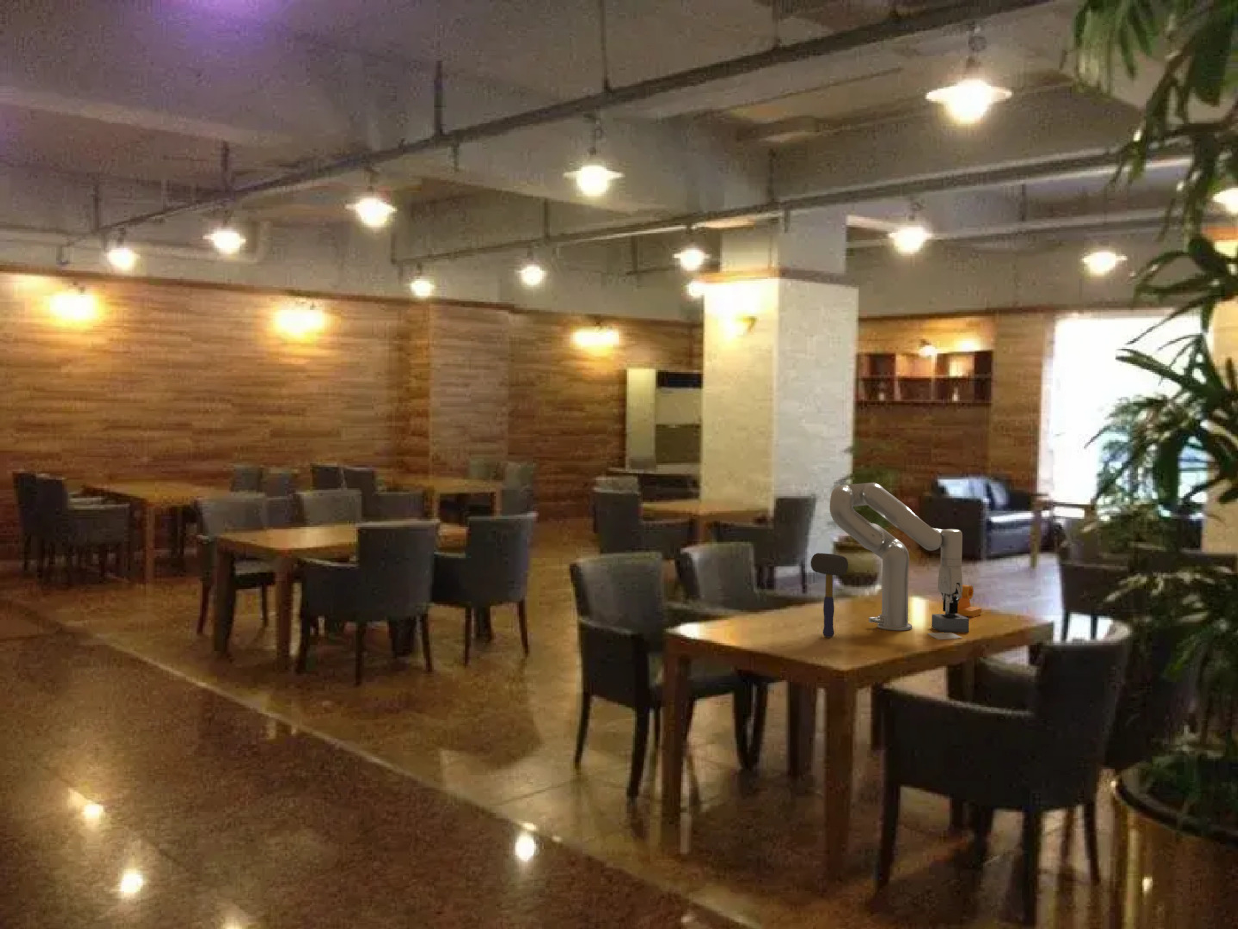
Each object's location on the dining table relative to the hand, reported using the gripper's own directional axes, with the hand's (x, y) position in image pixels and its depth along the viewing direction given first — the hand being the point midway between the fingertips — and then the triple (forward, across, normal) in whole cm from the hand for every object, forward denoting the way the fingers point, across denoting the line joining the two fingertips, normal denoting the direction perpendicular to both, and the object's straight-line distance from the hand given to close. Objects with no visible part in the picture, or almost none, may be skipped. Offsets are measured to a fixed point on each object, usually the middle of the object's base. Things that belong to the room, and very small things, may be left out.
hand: (950, 611), depth 425 cm
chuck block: (+7, 0, 0) cm, 7 cm away
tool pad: (+7, +11, -8) cm, 15 cm away
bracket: (+7, -25, +23) cm, 35 cm away
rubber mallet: (+7, +2, -50) cm, 50 cm away
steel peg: (+4, 0, 0) cm, 4 cm away
